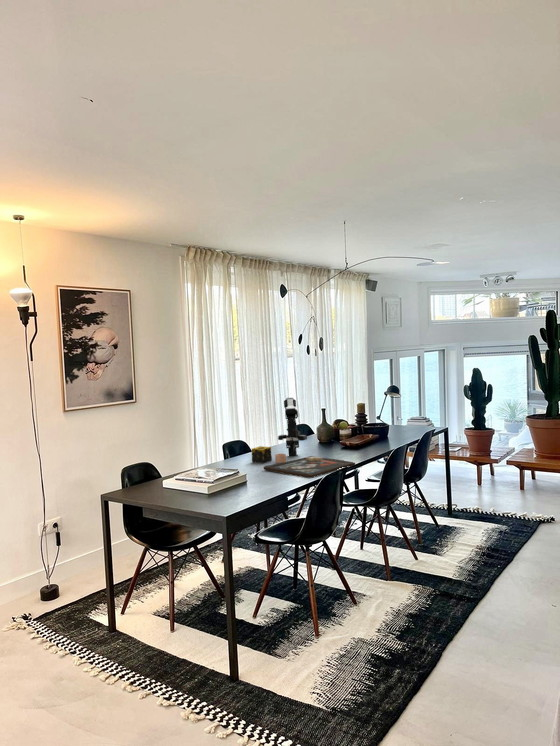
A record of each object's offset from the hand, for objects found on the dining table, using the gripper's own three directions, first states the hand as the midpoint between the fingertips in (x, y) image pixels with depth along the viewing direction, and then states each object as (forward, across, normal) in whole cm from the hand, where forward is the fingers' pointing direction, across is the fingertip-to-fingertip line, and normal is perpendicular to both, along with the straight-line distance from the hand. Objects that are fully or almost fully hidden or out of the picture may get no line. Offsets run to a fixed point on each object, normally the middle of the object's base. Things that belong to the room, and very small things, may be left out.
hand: (293, 450), depth 364 cm
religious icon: (+10, -15, +8) cm, 20 cm away
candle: (+9, +25, -2) cm, 27 cm away
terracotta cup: (+9, +11, -3) cm, 15 cm away
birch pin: (+5, -10, 0) cm, 11 cm away
